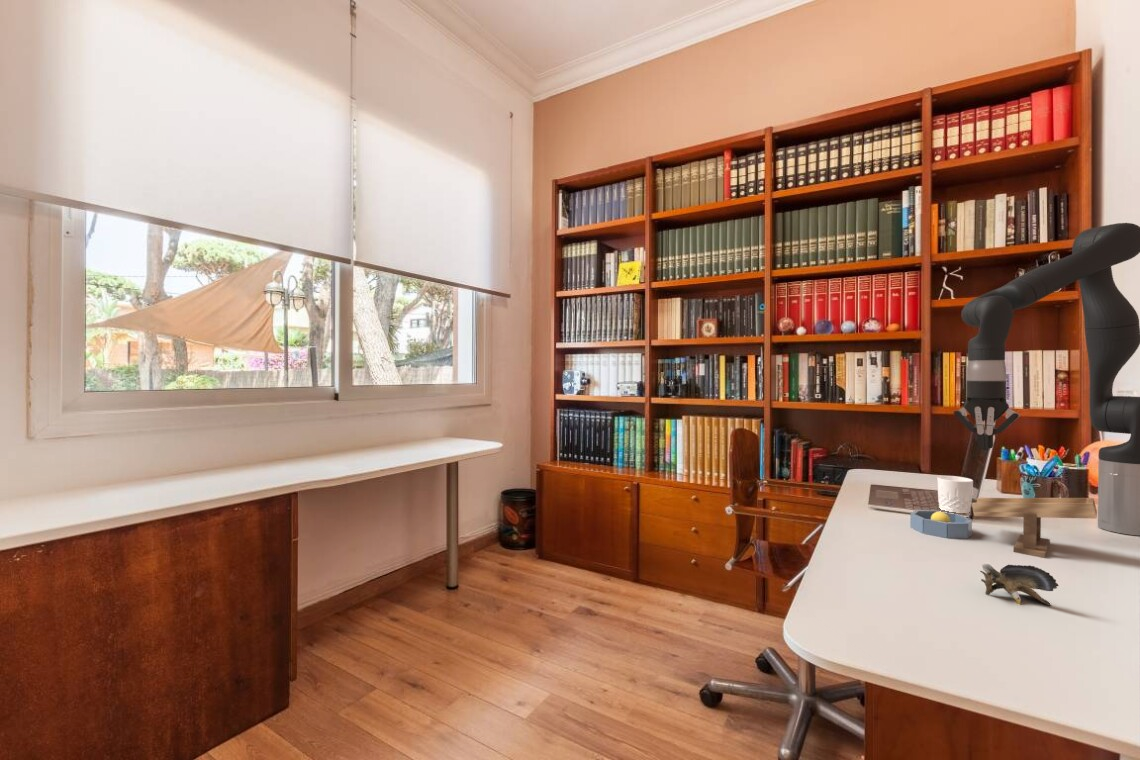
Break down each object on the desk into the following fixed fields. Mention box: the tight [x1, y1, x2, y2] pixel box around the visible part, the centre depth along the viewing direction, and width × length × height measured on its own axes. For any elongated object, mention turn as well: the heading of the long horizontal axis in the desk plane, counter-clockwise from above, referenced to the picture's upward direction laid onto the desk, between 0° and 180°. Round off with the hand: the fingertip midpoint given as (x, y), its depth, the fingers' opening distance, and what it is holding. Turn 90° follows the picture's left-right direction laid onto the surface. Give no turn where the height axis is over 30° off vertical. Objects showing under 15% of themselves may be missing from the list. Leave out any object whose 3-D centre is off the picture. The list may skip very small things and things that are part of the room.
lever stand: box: [1012, 512, 1051, 559], centre depth 113 cm, size 5×13×9 cm, turn 133°
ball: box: [931, 512, 951, 522], centre depth 126 cm, size 4×4×4 cm
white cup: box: [936, 475, 974, 513], centre depth 140 cm, size 8×8×10 cm
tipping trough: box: [971, 497, 1098, 520], centre depth 116 cm, size 20×13×3 cm, turn 43°
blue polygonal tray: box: [910, 509, 973, 539], centre depth 126 cm, size 12×12×4 cm
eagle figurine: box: [979, 563, 1059, 606], centre depth 87 cm, size 8×7×9 cm
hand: (985, 449), depth 124 cm, fingers closed
